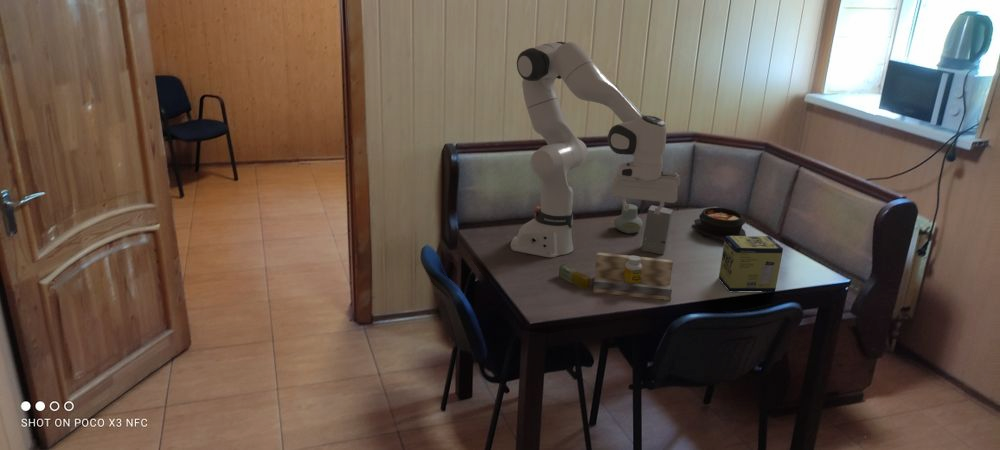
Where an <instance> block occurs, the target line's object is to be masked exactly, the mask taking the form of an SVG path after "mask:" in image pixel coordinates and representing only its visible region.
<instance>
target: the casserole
mask: <svg viewBox="0 0 1000 450" xmlns="http://www.w3.org/2000/svg"><path fill="white" fill-rule="evenodd" d="M698 217H699V218H697V219H695V220H693V221H694V223H695V229H696V231H698V232H699V233H700V234H703V235H705V236H707V237H710V238H714V239H716V240H718V241H720V242H721V241H722V242H724V241H725V236H747V234H746V231H745V229H743V225H745V224H746V221H745V219H744V216H743V214H742V213H740V212H739V211H736V210H734V209H730V208H725V207H724V208H723V207H709V208H705V209H703V210H702V212H701V213H700V214H699V215H698Z"/></svg>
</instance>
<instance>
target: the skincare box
mask: <svg viewBox="0 0 1000 450" xmlns="http://www.w3.org/2000/svg"><path fill="white" fill-rule="evenodd" d="M658 207H659V205H653V204H652V205H650V206H649V208H648V209H647V213H646V214H647V215H646V219H645V226H644V232H643V239H642V242H641V243H642V244H641V251H642V252H647V253H652V254H659V255H665V252H666V251H667V246H668V241H669V237H670V236H669V235H670V229H671V225H672V218H673V213H674V209H672V208H667V207H665V206H663V208H662V209H661V210H660V213H659V215H655V214H654V213H655V208H658Z"/></svg>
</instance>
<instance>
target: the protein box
mask: <svg viewBox="0 0 1000 450" xmlns="http://www.w3.org/2000/svg"><path fill="white" fill-rule="evenodd" d="M783 250H784V248H783V247H782V246H781V245H780V244H779V243H778V242H776V241H775V239H774V238H772V237H771V236H769V235H746V236H725V241H723V249H722V253H721V254H722V255H721V262H720V267H719V272H718V273H719V274H718V280H719V281H720V280H721V281H722V282H723V283H722V282H721V281H720V282H721V283H722V285H723V286H724V285H725V286H726V287H727V288H728V289H727V288H726V287H725V286H724V287H725V288H726V289H727V291H728V290H729V291H762V292H761V293H776V289H777V283H778V277H779V273H780V266H781V262H782V255H783ZM729 291H728V292H729Z"/></svg>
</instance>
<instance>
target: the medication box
mask: <svg viewBox="0 0 1000 450" xmlns="http://www.w3.org/2000/svg"><path fill="white" fill-rule="evenodd" d="M558 271H559V273H558V274H559V275H558V277H560V278H562V279H564V280H565V281H567V282H570V283H572V284H573V285H575V286H577V287H579V288H580V289H583V290H587V289H589V288H590V284H591V277H590V276H589V275H586V274H585V273H582V272H580V271H578V270H577V269H575V268H573V267H571V266H569V265H568V264H566V263H564V264H561V265H559V270H558Z"/></svg>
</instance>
